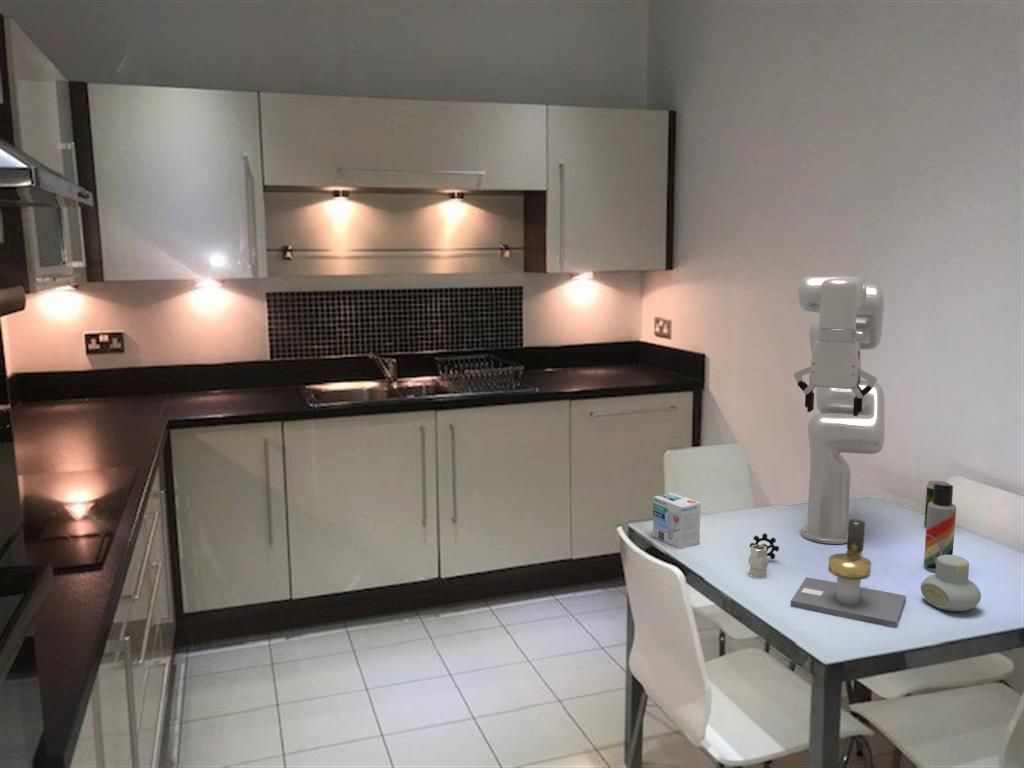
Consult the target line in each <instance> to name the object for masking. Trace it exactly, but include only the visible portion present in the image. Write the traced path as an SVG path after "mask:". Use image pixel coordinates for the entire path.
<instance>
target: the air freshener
mask: <svg viewBox="0 0 1024 768" xmlns="http://www.w3.org/2000/svg"><path fill="white" fill-rule="evenodd" d="M969 569H970V562H969V560H967V558H964V557H962V556H959V555H954V554H953V555H941V556H939V557H938V558H937V562H936V572H934V574H932V575H929V576H927V577H925V579H924V580H923V581H922V582H921V585H920V593H921V594H922V596H923V597H924V599H925V600H926V601H927V602H928V603H929V604H931V605H933V606H934V607H935V608H937V609H939V610H942V611H947V612H964V611H969V610H971V609H973V608H975V607H977V606H978V605H979V604H980V602H981V599H982V594H981V590H980V588H979V587H978V586H977V585H976V583H974V582H973V581H971V579H969V571H970V570H969Z"/></svg>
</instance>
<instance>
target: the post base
mask: <svg viewBox="0 0 1024 768" xmlns="http://www.w3.org/2000/svg"><path fill="white" fill-rule="evenodd" d="M836 577H837V576H836ZM836 580H837V581H836V582H834V581H830V580H825V579H824V580H823V579H819V578H813V577H808V576H806V577H805V578H804V579H803V582H802V583H801V585H800V586H799V588H798V589H797V591H796V592H795V594H794V595H793V597H792V598H791V599H790V607H793V608H797V609H802V610H807V611H813V612H816V613H822V614H827V615H832V616H837V617H842V618H847V619H851V620H856V621H861V622H866V623H871V624H875V625H880V626H886V627H890V628H895V629H896V628H897V626H898V623H899V620H900V618H901V616H902V613H903V609H904V607H905V603H906V599H907V596H906V594H905V595H904V594H900V593H899V594H898V593H895V592H889V591H883V590H879V589H873V588H866V587H863V586H862V587H861V579H860V580H852V579H845V578H840V577H837V579H836Z"/></svg>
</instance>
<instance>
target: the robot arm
mask: <svg viewBox="0 0 1024 768" xmlns="http://www.w3.org/2000/svg"><path fill="white" fill-rule="evenodd" d="M797 291H798V293H797V294H798V302H799V304H800V305H799V306H800V308H802V310H803V311H806V312H813V313H819V315H818V316H819V317H818V318H817V319H815V320H813V321H812V322H811V323H810V325H809V330H808V331H809V333H808V334H809V335H808V336H809V337H808V338H809V347H810V351H811V361H810V366H807V367H805V368H803V369H800V370H798V371H796V372H794V373H793V376H794V379H795V381H796V383H797V386H798V387H799V388H800V389H801V391H803V394H804V395H805V399H804V407H805V408H807V409H806V412H807V413H811V412H812V411H814V407H815V405H814V404H815V403H816V407H817V409H818V411H819V412H820V413H816V414H814V415H813V416H812V417H811V418H810V419H809V421H808V424H807V425H808V426H807V435H808V443H809V444H808V445H809V478H808V479H809V481H808V482H809V483H808V484H809V485H808V501H807V502H808V505H807V524H805V525H803V526H802V527H801V528H800V535H801V536H802V537H804V538H805V539H807V540H809V541H812V542H814V543H815V542H816V543H821V544H827V545H841V544H842V545H843V544H847V540H848V522H849V509H850V508H849V506H850V491H851V490H850V489H851V487H850V486H851V468H850V465H849V463H848V462H847V460H846V459H845V458H844V457H843V456H842V454H841V453H847V454H848V453H850V454H865V455H866V454H867V455H872V454H873V455H874V454H877V453H879V452H881V451H882V449H883V447H884V443H885V433H886V431H885V394H884V390H883V387H882V386H881V384H880V383H879V382H878V378H877V376H874V375H872V374H870V373H869V372H867V371H865V370H864V369H862V362H861V359H862V358H861V350H867V351H868V350H874V349H876V348H878V346H879V345H880V342H881V340H882V330H883V319H884V307H885V305H884V304H885V302H884V301H885V300H884V294H883V292H882V289H881V288H880V286H878V285H876V284H873V283H865V282H864V280H863V279H862V278H860V277H858V276H852V275H851V276H850V275H819V276H818V275H812V276H811V275H810V276H809V275H808V276H805V277H804V278H802V280H801V281H800V284H799V285H798V290H797ZM808 374H809V378H808V379H809V384H807V383H806V382H805V381H804V379H803V376H805V375H808ZM861 379H862V380H861ZM863 379H864V380H863ZM815 388H816V394H815V393H814V389H815ZM815 395H816V396H815ZM815 398H816V402H815Z"/></svg>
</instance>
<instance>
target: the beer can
mask: <svg viewBox="0 0 1024 768" xmlns="http://www.w3.org/2000/svg"><path fill="white" fill-rule="evenodd" d="M934 484H946V485H951V484H950V483H949V482H947V481H943V480H929V481H928V482H927V485H926V492H925V493H926V494H925V495H926V496H925V504H924V505H925V508H924V520H923V521H924V522H923V525H924V528H925V529H926V524H927V510H928V503H929V502H933V490H934Z"/></svg>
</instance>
